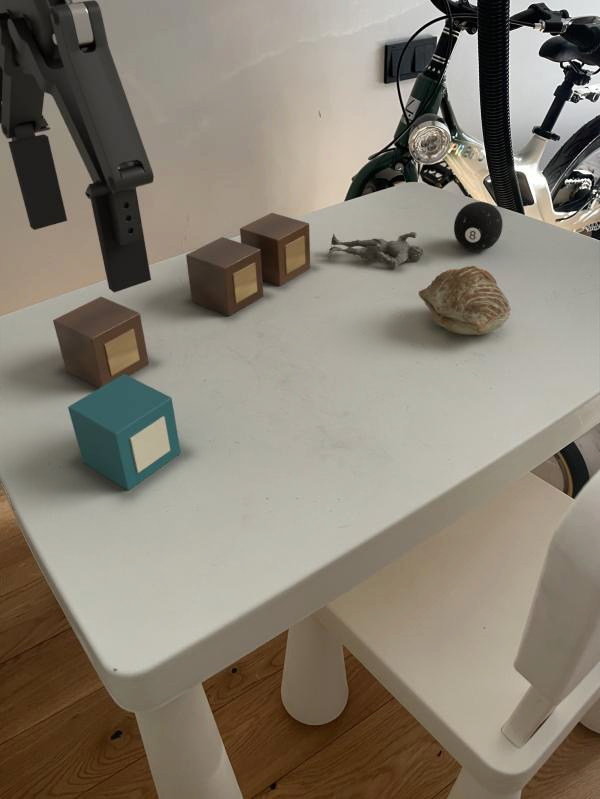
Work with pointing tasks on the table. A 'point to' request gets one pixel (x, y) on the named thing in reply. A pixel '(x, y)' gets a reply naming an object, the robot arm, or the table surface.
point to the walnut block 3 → (279, 246)
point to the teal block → (125, 430)
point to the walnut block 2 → (225, 275)
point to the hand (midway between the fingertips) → (86, 252)
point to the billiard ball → (478, 226)
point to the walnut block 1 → (101, 341)
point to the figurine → (381, 249)
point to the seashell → (466, 301)
